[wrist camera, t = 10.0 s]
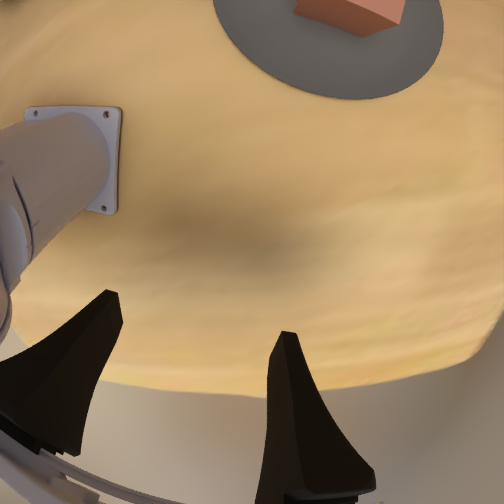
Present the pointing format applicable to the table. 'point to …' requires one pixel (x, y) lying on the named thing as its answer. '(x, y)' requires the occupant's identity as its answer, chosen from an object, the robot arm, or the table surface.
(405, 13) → the plate
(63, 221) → the robot arm
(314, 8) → the block
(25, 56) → the table surface
